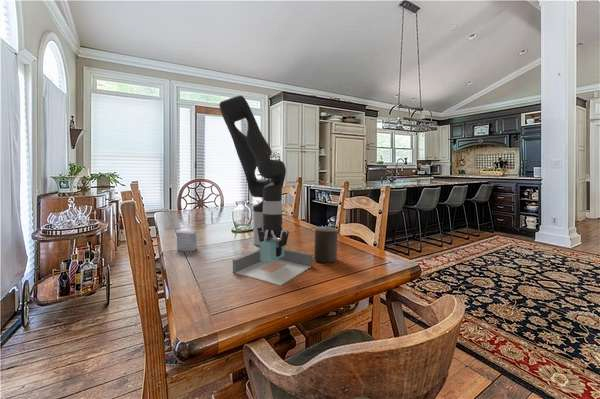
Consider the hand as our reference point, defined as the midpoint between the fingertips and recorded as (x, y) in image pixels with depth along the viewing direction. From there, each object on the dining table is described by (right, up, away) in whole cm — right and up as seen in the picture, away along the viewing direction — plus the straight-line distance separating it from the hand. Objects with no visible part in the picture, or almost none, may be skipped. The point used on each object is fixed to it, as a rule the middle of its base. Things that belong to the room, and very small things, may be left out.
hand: (272, 254), depth 110 cm
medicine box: (-43, -3, +24) cm, 49 cm away
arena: (+1, -6, -1) cm, 6 cm away
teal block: (0, -1, 0) cm, 1 cm away
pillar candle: (+22, -5, +11) cm, 25 cm away
